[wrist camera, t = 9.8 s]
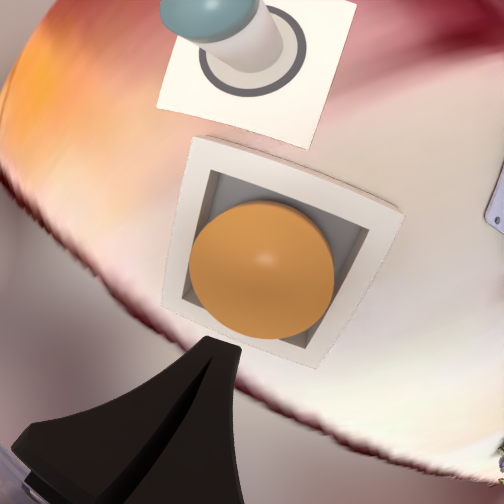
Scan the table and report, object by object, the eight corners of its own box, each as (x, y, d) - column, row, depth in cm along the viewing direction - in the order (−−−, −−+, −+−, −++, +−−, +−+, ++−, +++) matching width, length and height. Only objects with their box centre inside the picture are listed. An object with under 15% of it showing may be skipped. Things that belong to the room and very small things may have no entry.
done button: (357, 233, 14) (360, 244, 13) (301, 339, 18) (298, 356, 16) (217, 180, 15) (206, 185, 14) (190, 294, 19) (179, 307, 17)
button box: (396, 206, 15) (405, 215, 13) (317, 351, 20) (315, 369, 18) (207, 135, 16) (193, 136, 14) (173, 292, 21) (160, 305, 20)
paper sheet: (356, 5, 10) (357, 3, 10) (308, 150, 15) (308, 150, 15) (202, -20, 11) (200, -22, 11) (157, 107, 16) (155, 107, 16)
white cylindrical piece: (291, 27, 12) (266, -34, 6) (271, 79, 13) (233, 42, 7) (233, 16, 12) (179, -37, 6) (214, 66, 14) (147, 33, 8)
